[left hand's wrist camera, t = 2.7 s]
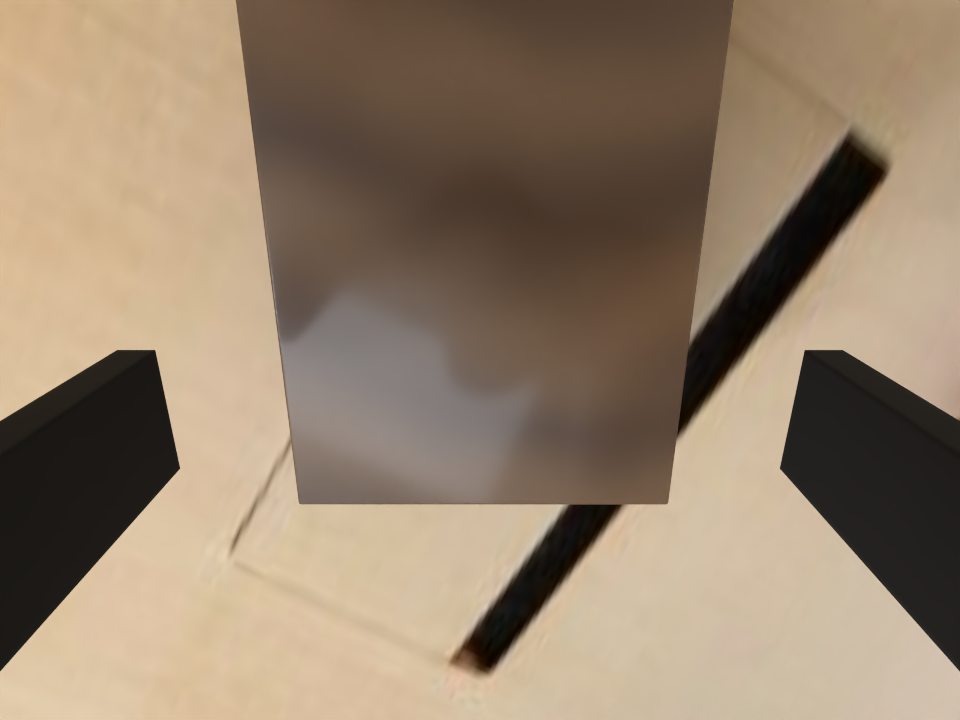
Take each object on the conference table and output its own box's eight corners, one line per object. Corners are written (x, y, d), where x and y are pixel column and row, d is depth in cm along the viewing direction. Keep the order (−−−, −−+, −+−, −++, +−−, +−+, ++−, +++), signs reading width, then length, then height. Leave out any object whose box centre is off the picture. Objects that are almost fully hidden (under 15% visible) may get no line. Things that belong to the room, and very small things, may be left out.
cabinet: (319, -140, 20) (188, -366, 11) (646, -140, 20) (783, -366, 11) (359, 380, 27) (298, 505, 18) (604, 380, 27) (668, 505, 18)
